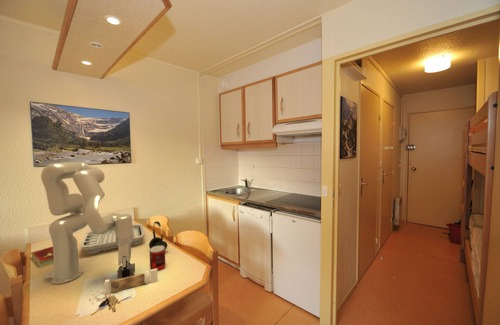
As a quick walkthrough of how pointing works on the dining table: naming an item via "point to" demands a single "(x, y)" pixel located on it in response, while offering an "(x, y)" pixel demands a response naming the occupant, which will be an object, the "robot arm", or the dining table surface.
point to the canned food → (157, 258)
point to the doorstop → (131, 270)
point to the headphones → (157, 239)
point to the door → (127, 282)
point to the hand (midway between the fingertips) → (126, 273)
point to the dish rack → (108, 239)
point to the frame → (148, 275)
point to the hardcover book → (43, 257)
